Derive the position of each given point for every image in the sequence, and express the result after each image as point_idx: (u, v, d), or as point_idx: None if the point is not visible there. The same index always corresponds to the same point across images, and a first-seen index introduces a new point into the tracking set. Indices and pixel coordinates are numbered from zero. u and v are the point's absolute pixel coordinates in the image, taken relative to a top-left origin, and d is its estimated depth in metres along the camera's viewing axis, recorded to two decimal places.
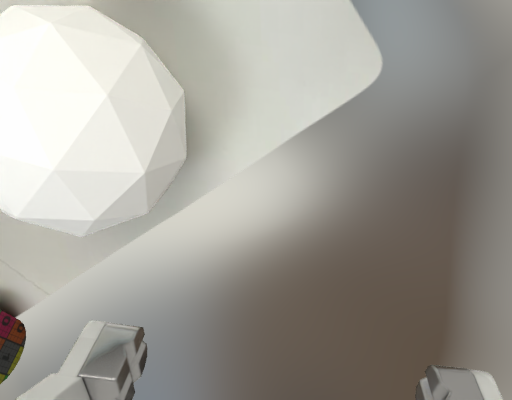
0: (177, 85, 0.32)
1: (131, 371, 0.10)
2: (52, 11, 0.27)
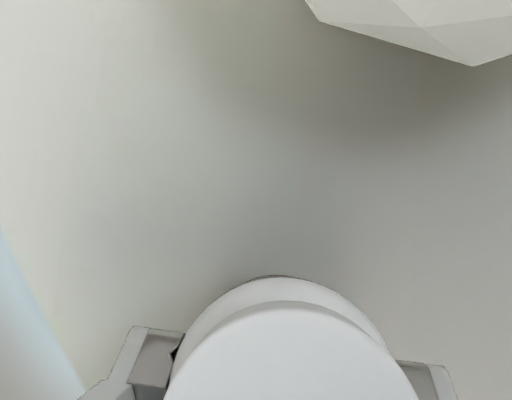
0: None
1: None
2: None
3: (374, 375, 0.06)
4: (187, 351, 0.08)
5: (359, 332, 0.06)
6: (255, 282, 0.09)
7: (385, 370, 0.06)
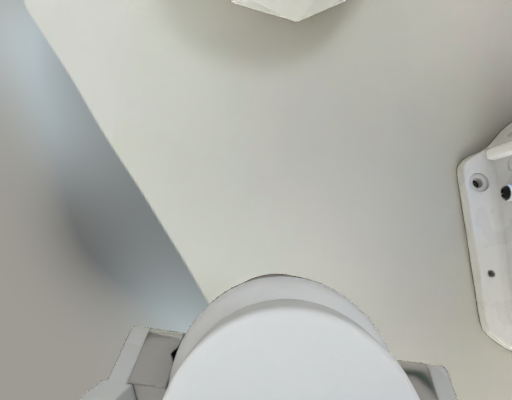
0: None
1: None
2: None
3: (375, 374, 0.06)
4: (187, 350, 0.08)
5: (360, 331, 0.06)
6: (255, 281, 0.09)
7: (386, 369, 0.06)
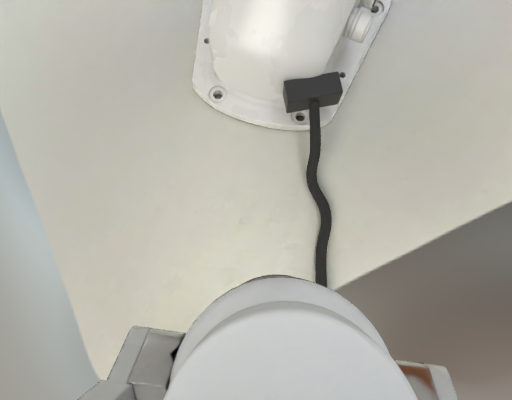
0: None
1: None
2: None
3: (373, 375, 0.06)
4: (187, 351, 0.09)
5: (359, 333, 0.06)
6: (255, 282, 0.09)
7: (384, 370, 0.06)
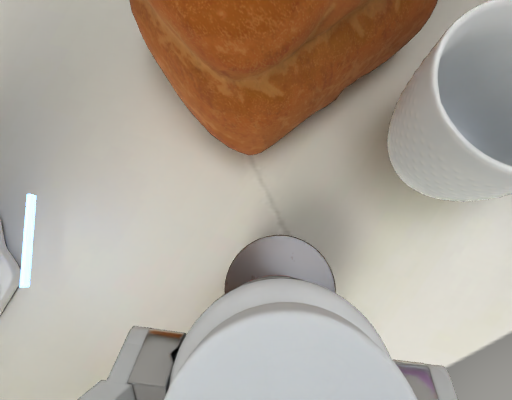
0: None
1: None
2: None
3: (374, 377, 0.06)
4: (187, 352, 0.09)
5: (359, 334, 0.06)
6: (255, 283, 0.09)
7: (385, 372, 0.06)
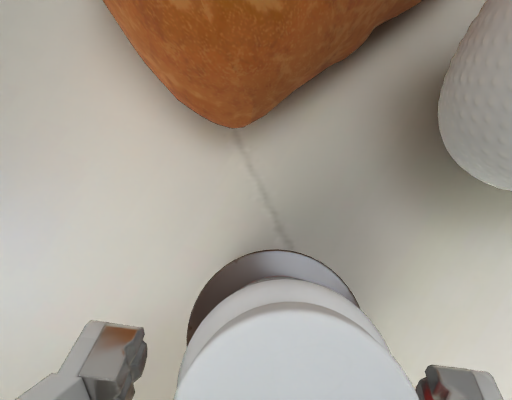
0: None
1: (131, 371, 0.10)
2: None
3: (375, 373, 0.06)
4: (195, 350, 0.09)
5: (361, 332, 0.07)
6: (260, 284, 0.10)
7: (386, 368, 0.06)
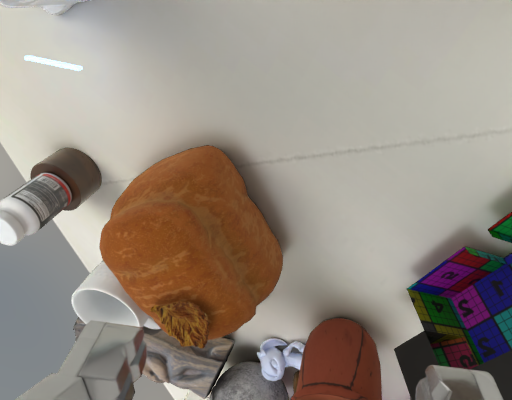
0: None
1: (131, 371, 0.10)
2: None
3: (11, 242, 0.45)
4: (18, 208, 0.45)
5: (16, 242, 0.45)
6: (35, 219, 0.46)
7: (12, 243, 0.45)
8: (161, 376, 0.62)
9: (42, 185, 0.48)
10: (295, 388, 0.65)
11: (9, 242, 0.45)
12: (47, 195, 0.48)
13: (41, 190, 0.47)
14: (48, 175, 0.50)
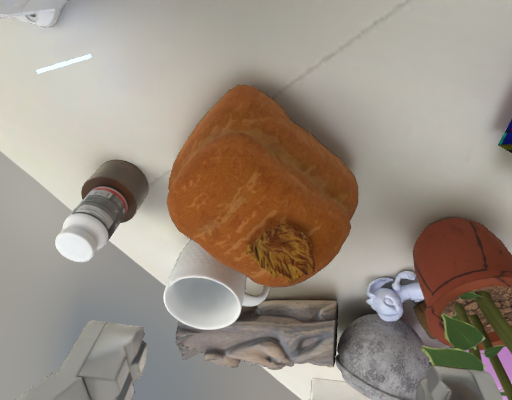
0: None
1: (131, 371, 0.10)
2: None
3: (88, 255, 0.44)
4: (82, 220, 0.44)
5: (92, 254, 0.44)
6: (101, 226, 0.45)
7: (89, 256, 0.44)
8: (280, 358, 0.58)
9: (96, 196, 0.48)
10: (422, 321, 0.59)
11: (86, 257, 0.44)
12: (104, 203, 0.47)
13: (97, 200, 0.47)
14: (98, 188, 0.49)
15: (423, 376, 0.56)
